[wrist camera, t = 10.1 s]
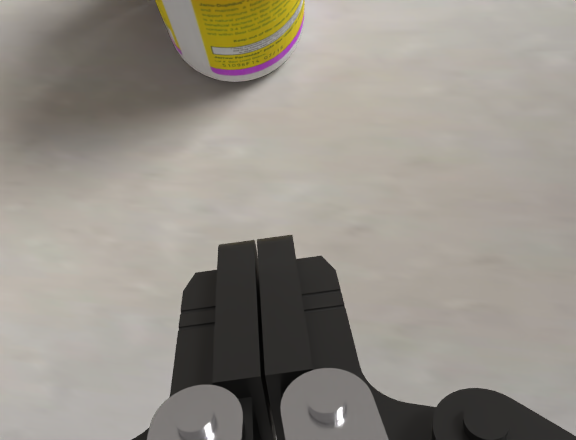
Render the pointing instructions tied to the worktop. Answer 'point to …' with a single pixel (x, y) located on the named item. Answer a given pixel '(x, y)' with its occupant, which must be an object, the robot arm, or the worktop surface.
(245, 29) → the supplement bottle
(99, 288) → the worktop surface
